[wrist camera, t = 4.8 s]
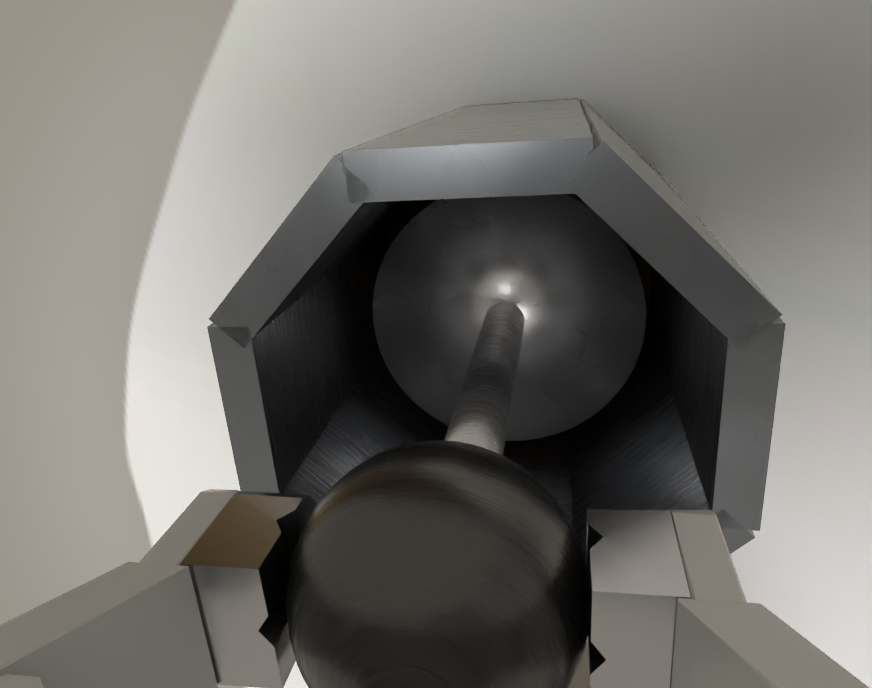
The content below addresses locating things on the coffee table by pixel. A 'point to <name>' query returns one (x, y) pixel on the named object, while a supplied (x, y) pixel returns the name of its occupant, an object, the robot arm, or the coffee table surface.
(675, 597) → the robot arm
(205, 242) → the coffee table surface
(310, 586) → the plunger
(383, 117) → the coffee table surface
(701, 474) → the octagonal steel cup
